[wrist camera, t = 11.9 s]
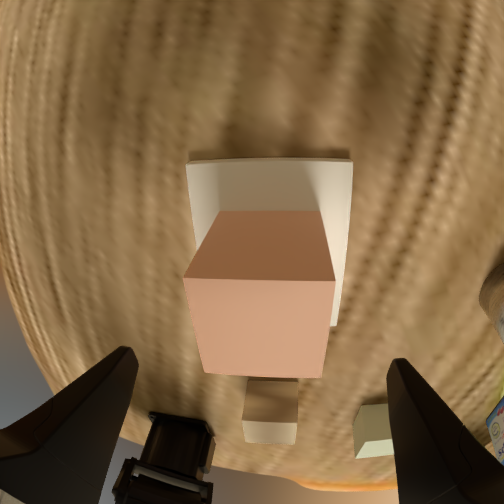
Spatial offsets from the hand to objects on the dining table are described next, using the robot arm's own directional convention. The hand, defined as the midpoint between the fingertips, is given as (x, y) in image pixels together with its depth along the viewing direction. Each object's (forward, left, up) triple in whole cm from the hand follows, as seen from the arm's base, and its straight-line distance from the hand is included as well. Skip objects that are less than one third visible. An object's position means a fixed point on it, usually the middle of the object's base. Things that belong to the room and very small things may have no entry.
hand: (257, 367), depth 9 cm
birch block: (0, -14, -9) cm, 17 cm away
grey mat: (0, 0, -8) cm, 9 cm away
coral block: (0, 0, -8) cm, 8 cm away
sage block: (+10, -18, -9) cm, 22 cm away
